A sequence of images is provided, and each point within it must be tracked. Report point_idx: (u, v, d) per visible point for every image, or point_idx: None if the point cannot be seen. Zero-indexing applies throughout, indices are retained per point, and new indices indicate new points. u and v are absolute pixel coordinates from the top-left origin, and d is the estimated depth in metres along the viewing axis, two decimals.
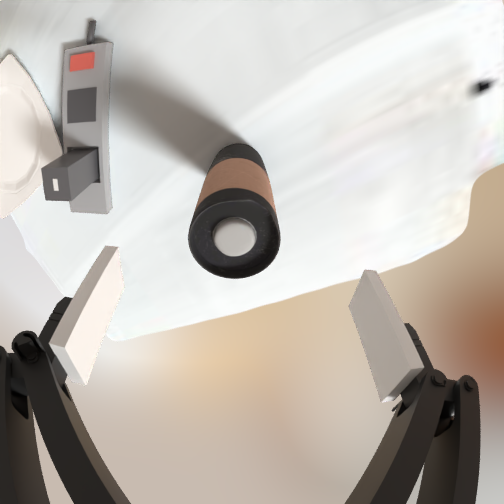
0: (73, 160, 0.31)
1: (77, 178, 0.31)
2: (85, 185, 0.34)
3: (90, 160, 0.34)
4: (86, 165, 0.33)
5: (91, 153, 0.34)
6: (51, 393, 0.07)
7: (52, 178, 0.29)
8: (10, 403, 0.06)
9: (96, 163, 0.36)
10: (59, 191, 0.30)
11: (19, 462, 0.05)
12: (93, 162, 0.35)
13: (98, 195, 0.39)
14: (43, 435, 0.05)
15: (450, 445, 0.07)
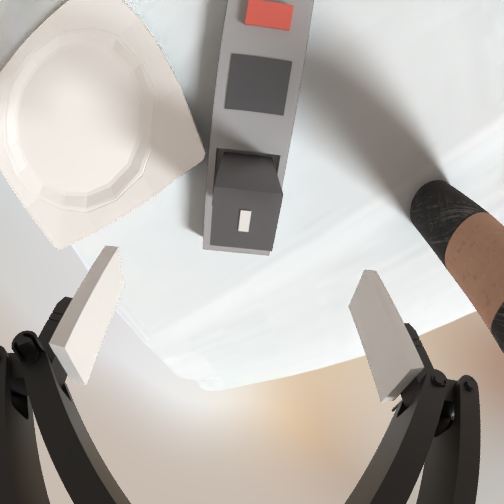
0: (267, 178, 0.21)
1: None
2: None
3: None
4: None
5: None
6: (51, 393, 0.07)
7: (240, 209, 0.19)
8: (10, 403, 0.06)
9: None
10: (250, 233, 0.20)
11: (19, 462, 0.05)
12: None
13: None
14: (43, 435, 0.05)
15: (450, 445, 0.07)
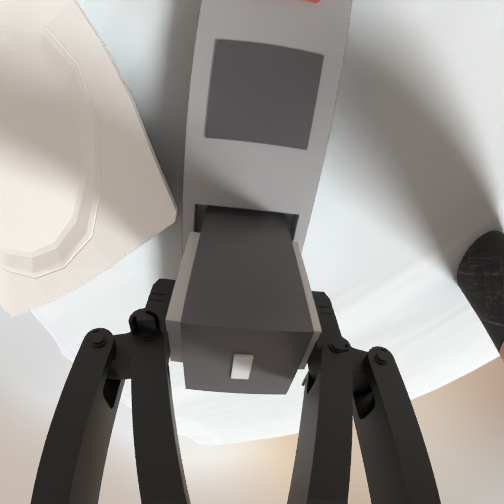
0: (282, 278, 0.12)
1: None
2: None
3: None
4: None
5: None
6: (158, 376, 0.08)
7: (233, 354, 0.10)
8: (100, 392, 0.08)
9: None
10: (252, 379, 0.11)
11: (88, 452, 0.06)
12: None
13: None
14: (134, 413, 0.07)
15: (380, 428, 0.08)
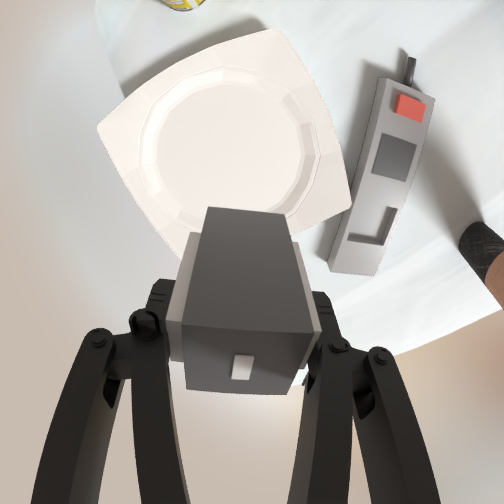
0: (283, 280, 0.12)
1: None
2: None
3: None
4: None
5: None
6: (158, 376, 0.08)
7: (234, 355, 0.10)
8: (101, 391, 0.08)
9: None
10: (252, 380, 0.11)
11: (88, 452, 0.06)
12: None
13: (374, 257, 0.37)
14: (134, 413, 0.07)
15: (380, 428, 0.08)
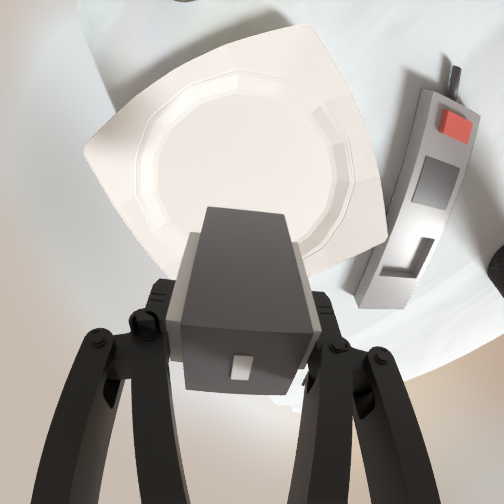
0: (282, 280, 0.12)
1: None
2: None
3: None
4: None
5: None
6: (158, 376, 0.08)
7: (233, 355, 0.10)
8: (100, 392, 0.08)
9: None
10: (251, 380, 0.11)
11: (88, 452, 0.06)
12: None
13: (406, 291, 0.32)
14: (134, 413, 0.07)
15: (380, 428, 0.08)
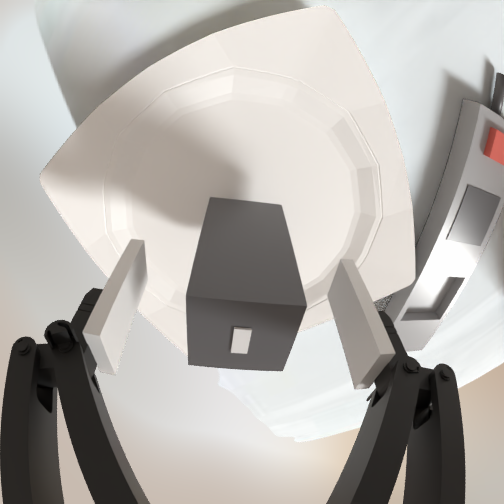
0: (279, 260, 0.13)
1: None
2: None
3: None
4: None
5: None
6: (81, 384, 0.07)
7: (233, 327, 0.11)
8: (35, 396, 0.07)
9: None
10: (250, 354, 0.12)
11: (38, 456, 0.05)
12: None
13: (427, 332, 0.27)
14: (68, 425, 0.06)
15: (431, 437, 0.07)
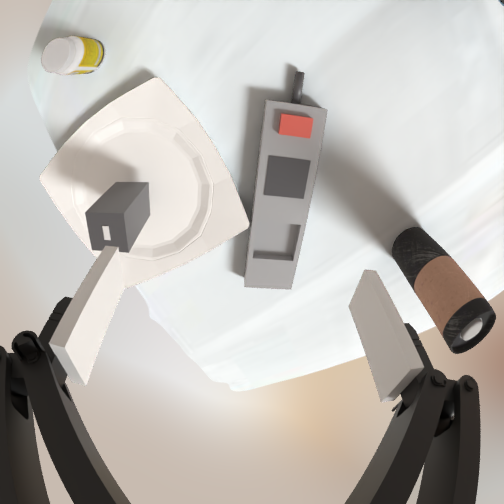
0: (125, 201, 0.28)
1: (132, 224, 0.29)
2: (139, 230, 0.32)
3: (142, 198, 0.32)
4: (139, 205, 0.31)
5: (143, 190, 0.32)
6: (51, 393, 0.07)
7: (102, 225, 0.26)
8: (10, 403, 0.06)
9: (147, 200, 0.34)
10: (112, 241, 0.27)
11: (19, 462, 0.05)
12: (145, 200, 0.33)
13: (286, 272, 0.42)
14: (43, 435, 0.05)
15: (450, 445, 0.07)
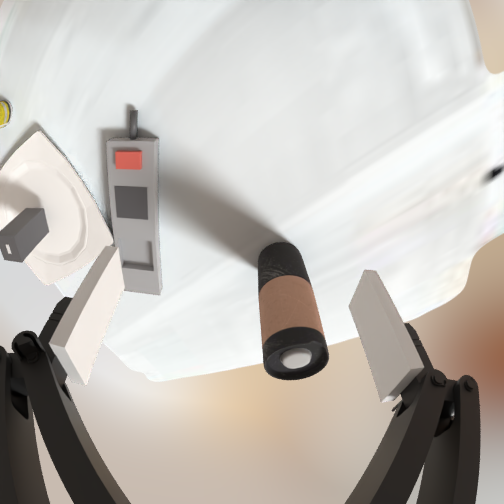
0: (20, 226, 0.33)
1: (25, 242, 0.33)
2: (34, 245, 0.36)
3: (36, 222, 0.36)
4: (32, 227, 0.35)
5: (36, 215, 0.36)
6: (51, 393, 0.07)
7: (5, 244, 0.31)
8: (10, 403, 0.06)
9: (43, 222, 0.38)
10: (12, 254, 0.32)
11: (19, 462, 0.05)
12: (40, 222, 0.37)
13: (151, 280, 0.46)
14: (43, 435, 0.05)
15: (450, 445, 0.07)
